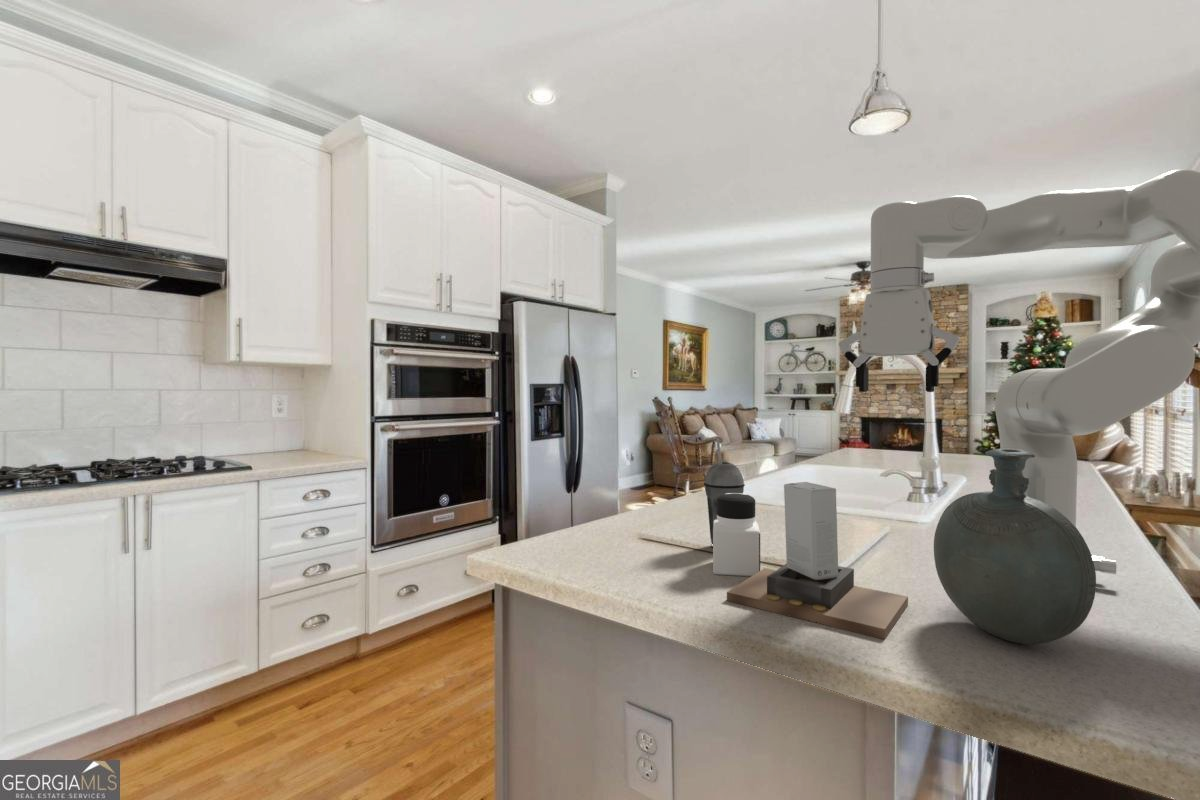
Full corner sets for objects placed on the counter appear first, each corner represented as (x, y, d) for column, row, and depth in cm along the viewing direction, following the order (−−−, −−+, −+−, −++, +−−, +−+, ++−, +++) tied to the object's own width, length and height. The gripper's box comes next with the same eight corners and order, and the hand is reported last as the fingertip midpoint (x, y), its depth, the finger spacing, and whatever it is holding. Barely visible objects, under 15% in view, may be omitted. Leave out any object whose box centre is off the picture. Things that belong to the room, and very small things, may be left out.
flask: (1002, 671, 60) (1005, 459, 60) (918, 607, 77) (919, 442, 77) (1118, 672, 60) (1122, 458, 59) (1008, 608, 77) (1010, 441, 76)
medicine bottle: (760, 577, 90) (760, 499, 90) (713, 574, 91) (712, 498, 91) (757, 563, 97) (757, 491, 97) (713, 561, 98) (713, 490, 98)
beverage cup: (749, 553, 103) (749, 439, 102) (707, 553, 103) (707, 439, 102) (739, 541, 110) (739, 435, 109) (700, 542, 110) (700, 436, 109)
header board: (907, 605, 78) (908, 577, 78) (884, 639, 68) (885, 607, 68) (764, 575, 91) (764, 552, 90) (726, 600, 80) (726, 574, 80)
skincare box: (839, 577, 79) (840, 487, 78) (812, 581, 77) (813, 490, 77) (808, 564, 84) (808, 480, 84) (782, 567, 83) (783, 482, 82)
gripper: (963, 280, 91) (962, 391, 91) (846, 292, 101) (846, 391, 102) (956, 274, 85) (955, 392, 85) (833, 287, 95) (832, 392, 96)
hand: (895, 391), depth 93 cm, fingers open, 9 cm apart
